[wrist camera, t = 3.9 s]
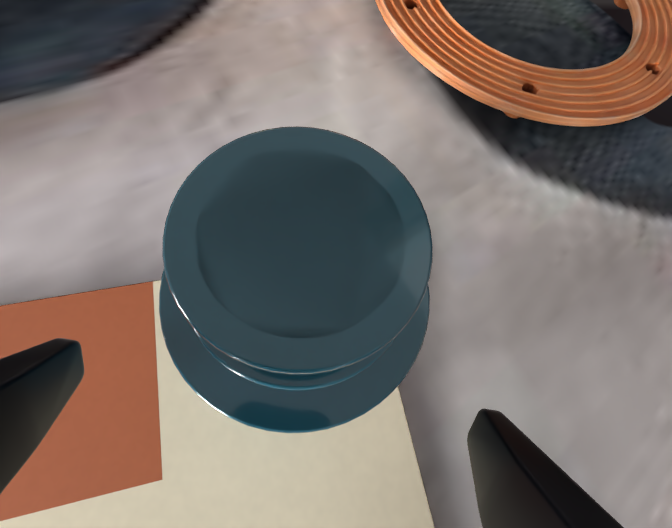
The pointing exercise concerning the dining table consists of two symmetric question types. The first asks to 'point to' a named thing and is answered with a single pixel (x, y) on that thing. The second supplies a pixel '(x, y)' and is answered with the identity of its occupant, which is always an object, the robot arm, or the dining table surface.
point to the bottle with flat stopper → (295, 279)
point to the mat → (189, 441)
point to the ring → (537, 81)
